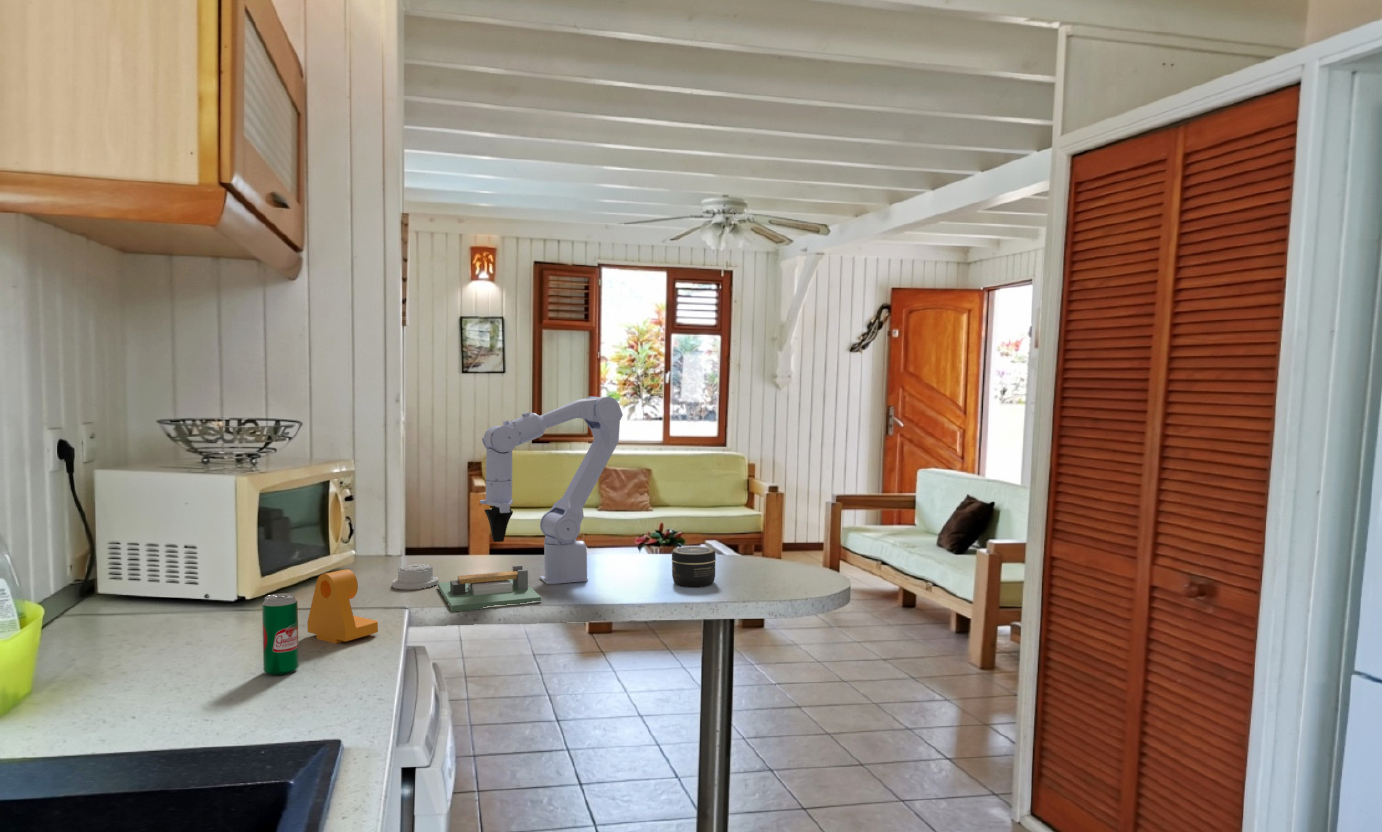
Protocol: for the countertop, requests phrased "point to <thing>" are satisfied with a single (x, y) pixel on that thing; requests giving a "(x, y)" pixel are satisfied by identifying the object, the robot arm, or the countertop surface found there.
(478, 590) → the board
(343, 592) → the bracket
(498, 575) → the orange brown flat bar
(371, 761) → the countertop surface
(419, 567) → the mechanical component
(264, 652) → the soda can
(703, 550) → the jar
